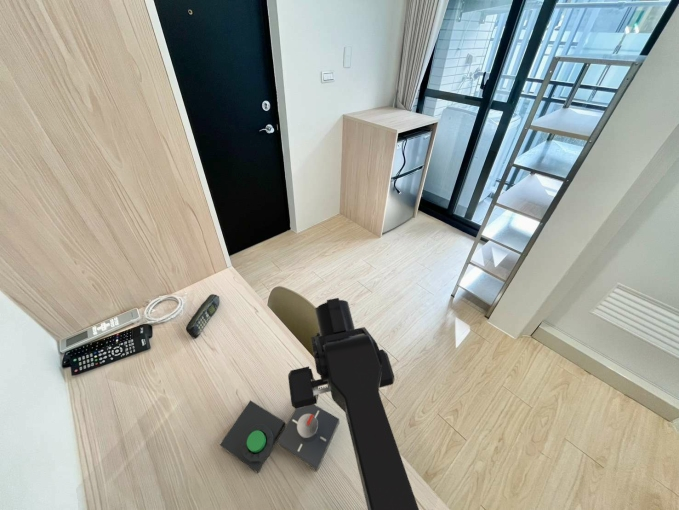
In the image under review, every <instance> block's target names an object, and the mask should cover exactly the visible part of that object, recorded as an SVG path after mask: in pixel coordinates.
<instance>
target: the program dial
mask: <svg viewBox="0 0 679 510" xmlns="http://www.w3.org/2000/svg"><path fill="white" fill-rule="evenodd" d="M297 431H298V433H299V435H300V437H301V439H302V440H303V441H305V442H311V441H313V440H314V439H315V438H316V437H317V435H318V433H319V426H318V422H317V419H316V417H315V416H314V415H312V414H304V415H303V416H301V417H300V419H299V420H298V423H297Z"/></svg>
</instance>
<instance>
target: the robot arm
mask: <svg viewBox="0 0 679 510" xmlns="http://www.w3.org/2000/svg"><path fill="white" fill-rule="evenodd" d="M350 308H351V307H350V304H349V301H347V300H344V299H339V297H335V298H330V299H329V298H328V299H326V302H323V303H322V304H319V305H318V306H317V307H315V308H314V311H315V317H316V320H317V321H316V322H317V327H318V332H316V334H315V336H311V337H310V341H311V348H312V353H313V359H314V364H315V369H316V370H315V371H316V374H318V375H319V376H320V378H319V379H316V378H315V377H314V374H313V370H312V368H310V366H304V367H300V368H295V369H292V370H290V371H289V372H288V374H287V380H288V387H289V388H288V389H289V396H290V404H291V407H292V408H294V410H295V409H299V408H303V407H307V406H311V405H317V404H318V400H319V396H320V395H321V394H322V395H323V394H326V393H330V395H331V399H332V401H333V402H334V403H335V404H336V405H337V406H338V407H339V408H340V409H341V410H342V411H343V412H344V414H345V417H346V423H347V427H348V430H349V436H350V440H351V443H352V447H353V451H354V456H355V457H354V458H355V460H356V464H357V469H358V473H359V478H360V481H361V482H360V483H361V486H362V492H363V495H364V499H365V500H364V501H365V503H366V509H367V510H420V508H419V506H418V503H417V499H416V497H415V494H414V491H413V488H412V485H411V482H410V479H409V477H408V474H407V470H406V468H405V465H404V463H403V459H402V457H401V454H400V451H399V447H398V445H397V442H396V438H395V435H394V432H393V430H392V427H391V424H390V421H389V419H388V418H389V417H388V416H387V413H386V409H385V407H384V405H383V400H382V397H381V395H380V388H384V387H385V388H386V387H388V386H392V385H394V382H395V380H396V379H395V374H394V372H393V367H392V363H391V361H390V358H389V354H388V353H387V351H386V350H384V349H383V348H381V349H380V348H379V346H378V343H377V341H376V339H374V337H373V335H371V334H370V332H369V331H368V330H367V328H366V327H365V326H361V327H358V328H355V324H354V319H353V316H352V313H351V309H350ZM322 386H323V387H322Z"/></svg>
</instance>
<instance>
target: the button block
mask: <svg viewBox="0 0 679 510" xmlns="http://www.w3.org/2000/svg"><path fill="white" fill-rule="evenodd" d="M286 425H287V424H286V422H285V421H284V420H283V419H281V418H280V417H278V416H276V415H275V414H273V413H271V412H270V411H268V410H267V409H265V408H263V407H262V406H260V405H259V404H257V403H255V402H254V401H252V400H249V402H248V403H247V404H246V405H245V407H244V408H243V410H242V412H240V414H239V416H238V417H237V419H236V420H235V421H234V422H233V425H232V426H231V427H230V429H229V430H228V432H227V434H226V435H225V436H224V438H223V439H222V441H221V442H220V444H219V446H220V447H222V448H223V449H224V450H225V451H227V452H228V453H230V454H231V455H232V456H234V457H235V458H237V459H238V461H241V462H242V463H243V464H244V465H246V466H248V467H249V468H250V469H252V470H253V471H254V472H256V473H257V474H258V473H260V471H261V469H262V467H263V465H264V463H266V460H267V458H268V457H270V455H271V453H272V451H273V450H274V446H275V444H276V442H277V441H278V439H279V438H280V436H281V434H282V432H283V431H284V429H285V427H286ZM254 431H261V432H262V433H263V434H264V435H265V437H266V444H265V446H264V448H263V449H262V450H261V451H260V452H257V453H254V452H252V451H250V450H249V449H248V447H247V439H248V437H249V435H250V434H251V433H252V432H254Z"/></svg>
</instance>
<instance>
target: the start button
mask: <svg viewBox="0 0 679 510" xmlns="http://www.w3.org/2000/svg"><path fill="white" fill-rule="evenodd" d="M265 444H266V437H265V435H264V434H263V433H262V432H261V431H254V432H252V433H251V434H250V435H249V437H248V439H247V447H248V449H249V450H250V451H252V452H254V453H257V452H260V451H261V450H262V449H263V448H264V446H265Z"/></svg>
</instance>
